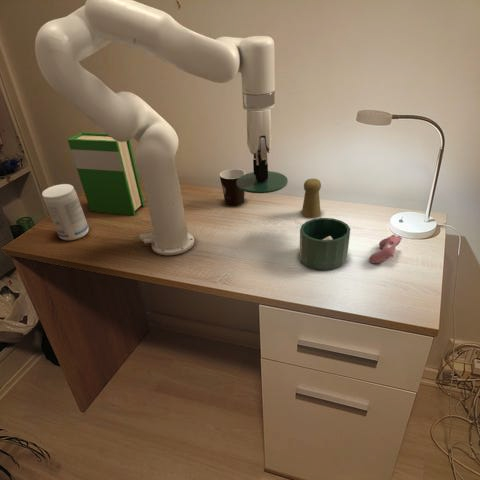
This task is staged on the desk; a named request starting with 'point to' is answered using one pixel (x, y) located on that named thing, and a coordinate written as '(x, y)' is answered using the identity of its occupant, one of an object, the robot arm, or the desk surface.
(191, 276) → the desk surface
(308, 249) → the tin
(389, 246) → the pink toy animal
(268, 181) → the tin lid
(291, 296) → the desk surface
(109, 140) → the hardback book
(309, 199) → the olive pawn figure
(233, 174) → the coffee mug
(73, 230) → the supplement tub
